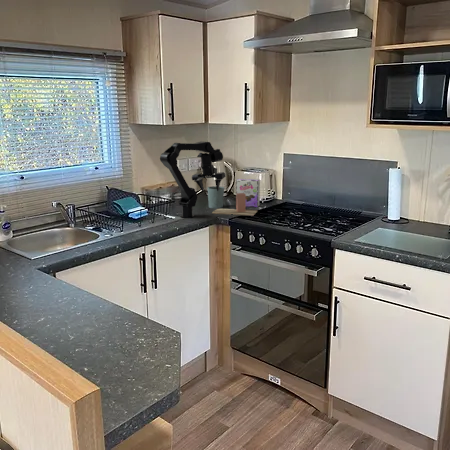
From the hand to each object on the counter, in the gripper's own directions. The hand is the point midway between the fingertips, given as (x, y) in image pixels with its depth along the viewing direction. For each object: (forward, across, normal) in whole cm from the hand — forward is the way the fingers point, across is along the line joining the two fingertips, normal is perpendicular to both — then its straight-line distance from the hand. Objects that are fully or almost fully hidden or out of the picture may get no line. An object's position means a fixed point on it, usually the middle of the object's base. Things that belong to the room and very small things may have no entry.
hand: (210, 191), depth 271 cm
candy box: (+16, -12, -26) cm, 33 cm away
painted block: (+14, -14, -7) cm, 21 cm away
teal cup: (+14, +5, -16) cm, 22 cm away
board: (+14, -12, -5) cm, 19 cm away
